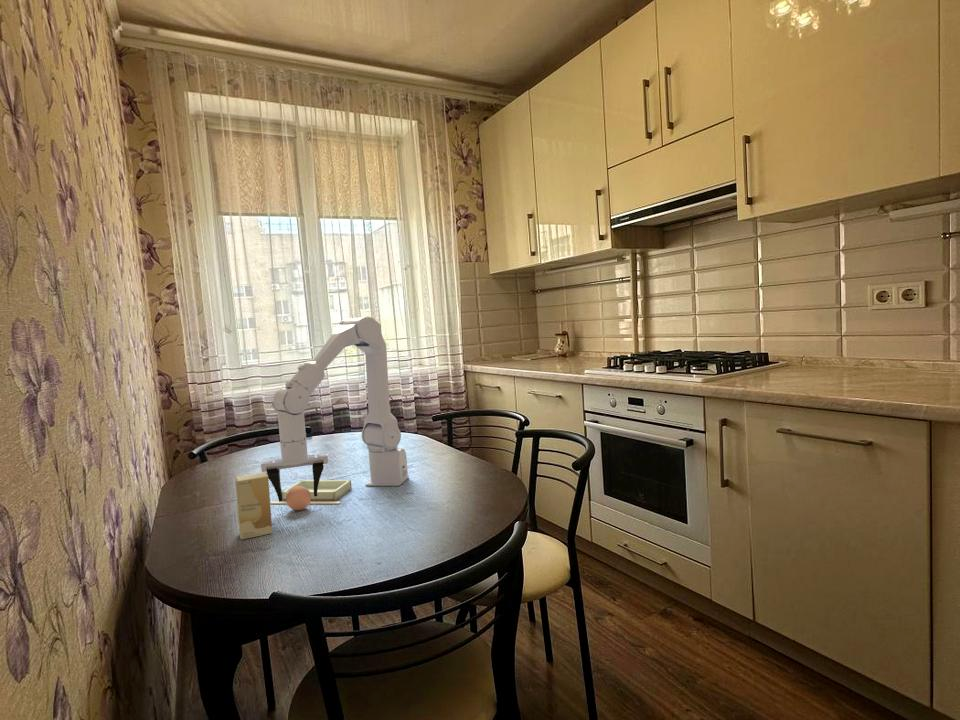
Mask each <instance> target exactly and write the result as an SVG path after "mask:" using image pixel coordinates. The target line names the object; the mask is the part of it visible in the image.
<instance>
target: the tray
mask: <svg viewBox="0 0 960 720" xmlns="http://www.w3.org/2000/svg"><path fill="white" fill-rule="evenodd" d="M296 486H303V487H305V488H307V489H308V490H309V491H310V494H311V501H338V500H339V499H340V498H341V497H343V496H344V495H346V493H348V492H349V491H350V490H352V480H351V479H348V480H347V479H345V480H344V479H341V480H340V479H335V480H334V479H332V480H329V479H328V480H326V479H325V480H321V479H320V480H319V484H318V489H317V496H315V497H314V479H313V480H312V479H311V480H299V481H298V482H296V483H295V484H293V485H291V486H290V487H288V488H286V489H285V490H283V491H282V498H283V499H282V501H286V496H287V493H288V492H289V491H290V490H291V489H292V488H293V487H296Z"/></svg>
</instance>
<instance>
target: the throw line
mask: <svg viewBox="0 0 960 720" xmlns="http://www.w3.org/2000/svg"><path fill="white" fill-rule="evenodd" d="M340 504H341V501H338V500H336V501H310V503H309V505H340ZM270 505H287V502H286V501H281V502H279V500H277V501H276V500H275V501H270Z"/></svg>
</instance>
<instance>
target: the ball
mask: <svg viewBox="0 0 960 720" xmlns="http://www.w3.org/2000/svg"><path fill="white" fill-rule="evenodd" d="M310 501H311V494H310V491H309V490H308V489H307V488H305V487H303V486H296V487H293V488H292V489H291V490H290V491H289V492H288V493H287V496H286V502H287V504H286V505H287V506H288V508H290V509H291V510H293V511H302V510H304V509H307V507H308V506H310V504H309V503H310Z"/></svg>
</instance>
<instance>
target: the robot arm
mask: <svg viewBox="0 0 960 720" xmlns="http://www.w3.org/2000/svg"><path fill="white" fill-rule="evenodd" d="M351 346H355V347H356V348H358V349H359V350H360V351H361V352H363V353H364V355H365V356H364V357H365V370H366V386H367V405H368V409H367V410H368V413H367V415H366V416H365V417H364V419H363V428H362V430H361V439H362V441H363V443H364V444H365V445H366V448H367V450H368V460H369V463H368V464H369V474H370V475H369V476H370V480H368V481H367V482H366V483H365V484H364V485H365V486H367V487H370V486H371V487H373V486H374V487H376V486H377V487H378V486H381V487H382V486H383V487H384V486H385V487H389V486H391V487H392V486H393V487H398V486H401V485H402V484H403V483H404V482H405V481H407V480H408V478H409V477H410V475H409V473H408V459H407V452H406V450H405V449H404V448H398V446H399V444H400V442H401V440H402V439H401V438H402V433H401V432H402V431H401V430H400V428H399V425H398V419H397V418H396V417H395V415H393V413H392V412H391V410H390V406H391V405H390V391H389V375H388V373H389V372H388V371H389V370H388V354H387V352H388V351H387V343H386V341H385V340H384V337H383V334H382V326H381V323H379V322H378V321H377V320H376V319H375V318H373V317H371V316H363V317H352V318H351V317H348V318H347V317H346V318H343V319H342V320H341V321H340V322H339V323H338V325H336V326H335V327H334V329H333V332H332V334H331V335H330V337H329V338H328V339H327V340H326V342H325V344H324V345H323V346H322V348H321V349H320V350H319V352H318V353H317V354H316V356H315V357H314V358H313V361H307V362H304V363H303V364H299V366H298V367H297V368H296V369H297V370H298V371H297V372H296V373H295V374H294V375H293V376H292V377H291V379H290V380H289V381H286V382H285V384H284V385H285V387H283V388H279V390H277V391H276V392H275V394H274V395H273V399H272V401H271V407H272V408H273V409H274V411H275V412H276V413H277V421H278V433H279V444H280V457H281V458H279V459H273V460H267V461H261V463H260V467H261V469H260V470H261V473H263V472H267V474H268V480H269V482H270V483H271V484H272V487H273V488H274V490H275V494H276V495H277V499H278V501H279V502H281V501H282V499H283V498H282V492H283V491H282V485H281V473H280V470H285V469H292V468H299V467H305V466H311V467H312V477H313V480H314V497H315V496H317V489H318V484H319V480H321V476H322V474H323V472H324V465H326V464H327V465H328V464H329V458H328V457H329V456H328V455H329V454H328V453H321V454H309V453H308V443H307V432H306V421H305V420H306V419H305V410H306V409H307V408H308V406H309V402H310V401H309V400H310V397H311V396H312V394H313V393H314V392H315V390H316V389H317V387H318V386H319V385H320V384H321V383H322V382H323V381H324V379H325V377H326V376H325V374H326V373H325V370H326V369H327V368H328V367H329V365H330V364H331V363H332V362H334V360H335V359H336V358H337V356H339V355H340V353H341V352H342V351H343V350H344V349H345V348H347V347H351Z"/></svg>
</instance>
